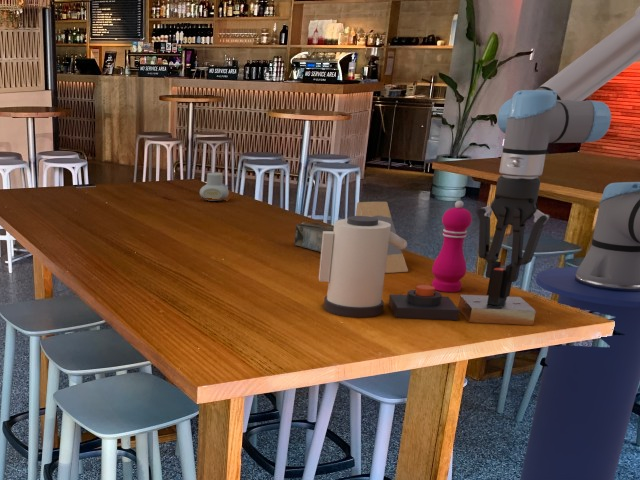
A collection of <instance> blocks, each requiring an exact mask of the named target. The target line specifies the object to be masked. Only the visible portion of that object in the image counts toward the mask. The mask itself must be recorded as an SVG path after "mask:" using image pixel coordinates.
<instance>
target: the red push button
mask: <svg viewBox="0 0 640 480" xmlns="http://www.w3.org/2000/svg"><path fill="white" fill-rule="evenodd" d="M415 290H416V293H415V294H416V295H420V296H434V291H436V290H435V287H433V286H432V285H429V284H417V285H416V287H415Z"/></svg>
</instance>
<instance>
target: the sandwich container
mask: <svg viewBox="0 0 640 480" xmlns="http://www.w3.org/2000/svg"><path fill="white" fill-rule="evenodd" d="M355 210H356V211H355V216H369V217H375V218H377V219H378V220H379V221H384V222H387V223H389V224H391V228H390V231H391V232H393V233H394V234H396V235H398V234H397V231H396V228H395V225H394V222H393V218H392V215H391V211H390V208H389V203H388V201H358V202H357V203H356V209H355ZM392 273H393V274H394V273H409V269H408V267H407V262H406V260H405V256H404V254H403V251H402V249H399V248H397V247H396V246H394V245H392V244H391V243H389V244H388V252H387V260H386V268H385V274H392Z"/></svg>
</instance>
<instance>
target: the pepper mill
mask: <svg viewBox="0 0 640 480" xmlns="http://www.w3.org/2000/svg"><path fill="white" fill-rule="evenodd" d="M441 219H442V225H443V226H444V228H442V229H443V230H442V231H443V232H442V237H443V243H442V247H441V249H440V251H439V253H438V255H437V257H436V258H435V260H434V262H433V264H432V268H431V273H432V275H433V276H434V279H432V282H431V286H433V287H435V291H436V292H443V293H457V292H460V291H461V289H462V284H463V283H462V281H461V280H462V279H463V278H464V277H465V276H466V273H467V263H466V259H465V255H464V240H465V238H466V237H467V233H468V230H467V229H468V228H469V226H471V224H472V221H473V220H472V214H471V212H470V211H469V210H468V209H466V208H464V202H463V200H456V202H455V203H454V207H451V208H449V209H447V210H446V211H445V212H444V213H443V215H442V218H441Z"/></svg>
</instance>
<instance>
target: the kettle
mask: <svg viewBox="0 0 640 480" xmlns="http://www.w3.org/2000/svg"><path fill="white" fill-rule="evenodd" d="M333 227H334V231H323V237H322V248H321V252H320V259H319V270H318V281H319V282H325V283H326V282H328V283H327V293H326V296H324V299H323V309H324V310H325V311H326V312H328V313H331V314H333V315H335V316H340V317H345V318H359V319H361V318H374V317H377V316H380V315H382V314H383V311H384V303H385V302H384V300H383V291H384V282H385V277H386V276H385V275H386V273H385V268H386V260H387V252H388V244H389V243H391V244H392V245H394V246H396V247H397V248H399V249H401V250H405V249H406V248H407V247H408V242H407V240H406V239H404V238H403V237H401V236H399V235H398V234H397V233H396V234H397V235H396V234H394V233H393V232H391V231H390V228H391V224H389V223H387V222H384V221H379V220H378V219H377V218H375V217H369V216H356V215H351V216H348V217H347V218H341V219H337V220H335V221H334V223H333Z"/></svg>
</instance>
